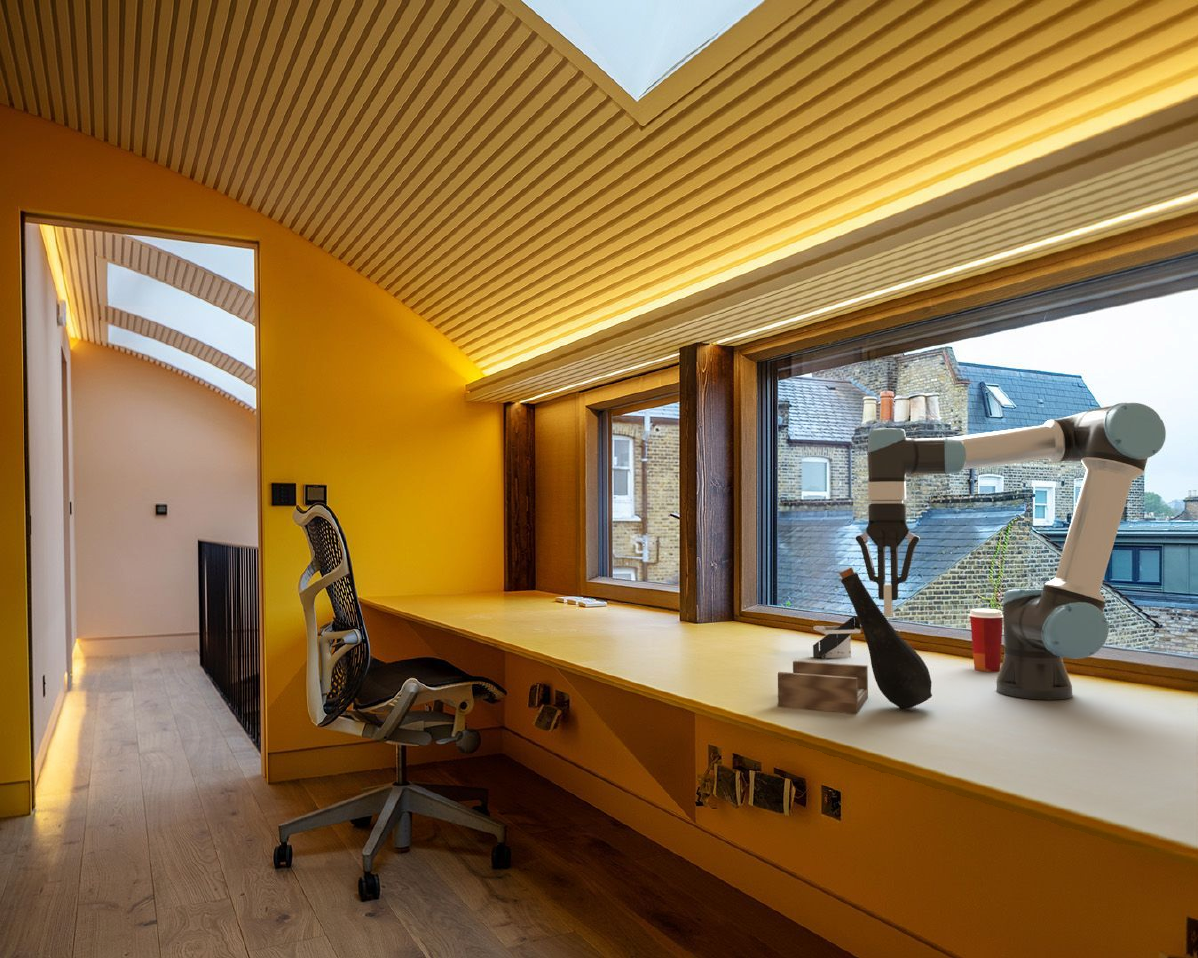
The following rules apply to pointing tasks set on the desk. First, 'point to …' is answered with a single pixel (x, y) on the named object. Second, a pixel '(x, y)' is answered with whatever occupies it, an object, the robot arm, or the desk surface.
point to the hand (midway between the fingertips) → (888, 615)
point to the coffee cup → (986, 638)
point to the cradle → (824, 687)
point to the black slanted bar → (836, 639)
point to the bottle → (888, 650)
